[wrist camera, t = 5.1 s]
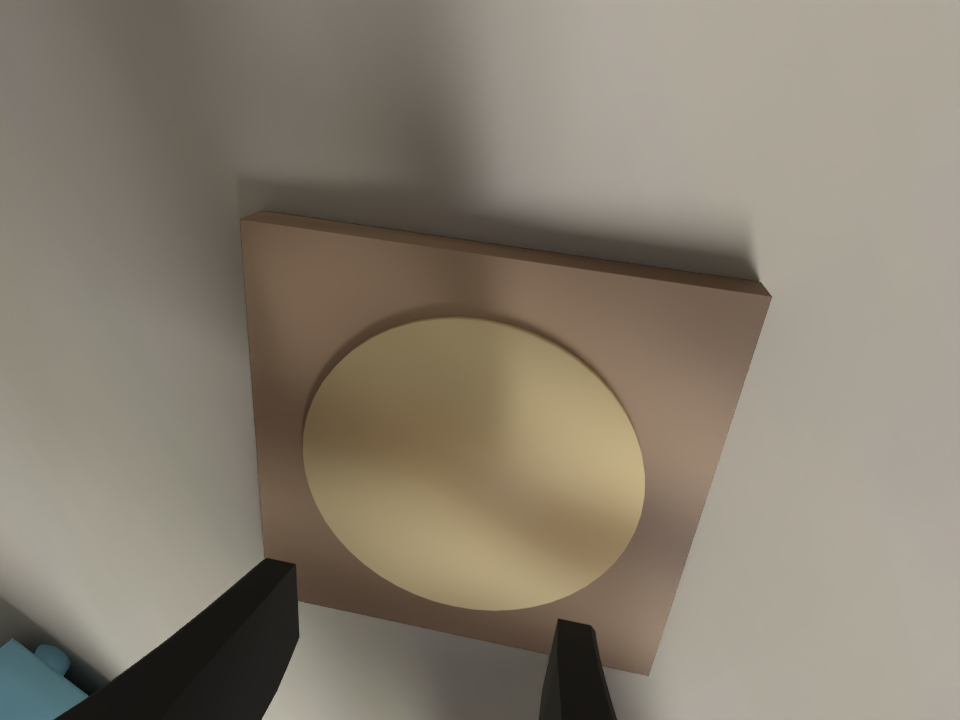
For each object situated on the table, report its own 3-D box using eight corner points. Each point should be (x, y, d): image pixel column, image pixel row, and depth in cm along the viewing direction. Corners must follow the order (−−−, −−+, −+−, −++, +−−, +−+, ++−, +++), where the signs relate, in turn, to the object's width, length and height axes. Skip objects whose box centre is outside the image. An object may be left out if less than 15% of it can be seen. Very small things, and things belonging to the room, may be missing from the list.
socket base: (646, 647, 19) (649, 684, 18) (281, 571, 21) (262, 601, 19) (760, 282, 14) (775, 301, 13) (260, 210, 15) (233, 222, 14)
